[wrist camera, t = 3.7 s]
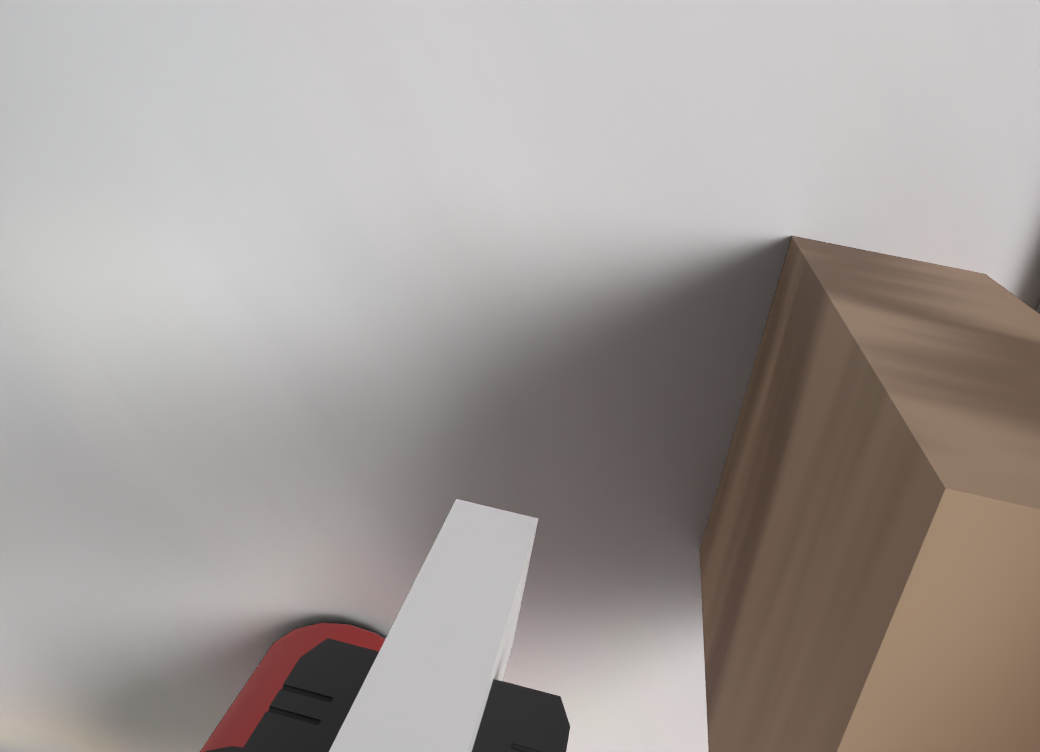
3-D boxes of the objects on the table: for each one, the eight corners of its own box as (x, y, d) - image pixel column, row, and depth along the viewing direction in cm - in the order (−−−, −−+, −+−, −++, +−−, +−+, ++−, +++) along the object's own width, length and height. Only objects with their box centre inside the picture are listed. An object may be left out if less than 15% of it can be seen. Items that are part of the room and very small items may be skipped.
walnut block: (699, 549, 26) (721, 1031, 13) (791, 235, 22) (945, 488, 10) (869, 589, 26) (1061, 1129, 13) (993, 275, 22) (1440, 598, 9)
